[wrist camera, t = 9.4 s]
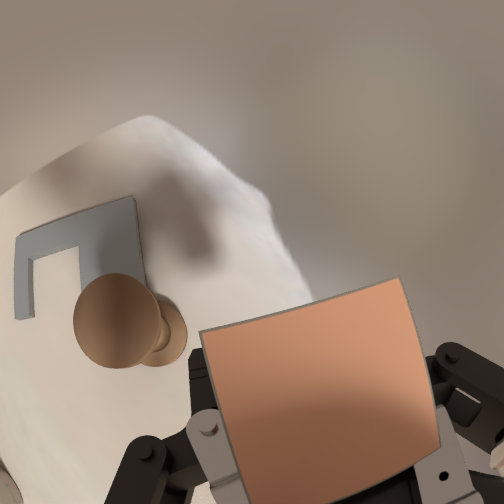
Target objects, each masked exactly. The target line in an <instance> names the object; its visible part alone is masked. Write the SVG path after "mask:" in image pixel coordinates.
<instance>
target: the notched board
mask: <svg viewBox="0 0 504 504" xmlns="http://www.w3.org/2000/svg"><path fill="white" fill-rule="evenodd" d="M78 245H79V263H80V279H81V291H83V290H84V289H85V287H86V286H87V285H88V284H89V283H91V282H92V281H93V280H95V279H96V278H98V277H100V276H103V275H105V274H110V273H121V274H125V275H128V276H131V277H133V278H135V279H136V280H138V281H139V282H140V283H142V284H143V285H144V286H145V287H147V285H146V279H145V273H144V266H143V259H142V252H141V245H140V237H139V228H138V219H137V208H136V200H135V198H134V197H133V196H130V197H126V198H123V199H120V200H116V201H113V202H110V203H107V204H104V205H101V206H98V207H95V208H92V209H89V210H86V211H83V212H80V213H77V214H74V215H72V216H69V217H66V218H63V219H60V220H58V221H55V222H52V223H50V224H47V225H45V226H42V227H39V228H37V229H34V230H32V231H29V232H27V233H24V234H22V235H20V236H17V237H16V243H15V259H14V311H15V319H17V320H24V319H29V318H33V317H35V315H34V298H33V260H36V259H38V258H41V257H44V256H47V255H50V254H53V253H56V252H59V251H62V250H65V249H69V248H72V247H75V246H78Z"/></svg>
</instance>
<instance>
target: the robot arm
mask: <svg viewBox="0 0 504 504" xmlns="http://www.w3.org/2000/svg"><path fill="white" fill-rule="evenodd" d="M425 359H426V364H427V368H428V372H429V376H430V381H431V386H432V390H433V395H434V401H435V406H436V412H437V418H438V424H439V431H440V438H441V446H442V447H441V448H439V449H438V450H436V451H435V452H433V453H432V454H430V455H429V456H427V457H425V458H424V459H422V460H421V461H419V462H417V463H416V464H414V465H413V466H411V467H410V468H408V469H406V470H404V471H402V472H401V473H399V474H397V475H395V476H393V477H391V478H389V479H387V480H385V481H383V482H381V483H379V484H377V485H375V486H372V487H370V488H368V489H366V490H364V491H361V492H359V493H357V494H354V495H352V496H349V497H347V498H344V499H342V500H339V501H336V502H334V503H331V504H504V368H502V367H500V366H499V365H497V364H495V363H493V362H491V361H489V360H488V359H486V358H484V357H482V356H480V355H478V354H477V353H475V352H473V351H471V350H469V349H468V348H466V347H464V346H462V345H460V344H458V343H454V342H447V343H444V344H442V345H440V346H439V347H438V348H437V350H436V353H435V355H433V356H427V357H425ZM188 367H189V380H190V381H189V384H190V398H191V411H192V413H191V418H190V419H189V421H188V423H187V426H186V427H185V428H184V429H183V430H182V431H180V432H178V433H177V434H174V435H172V436H170V437H167V438H165V439H163V440H160V439H159V438H157V437H154V436H150V435H145V436H141V437H138V438H136V439H134V440H133V441H132V442H131V443H130V444H129V445H128V447H127V449H126V452H125V454H124V456H123V459H122V461H121V463H120V466H119V468H118V471H117V473H116V476H115V478H114V480H113V483H112V485H111V488H110V490H109V493H108V495H107V498H106V500H105V503H104V504H190V503H191V500H192V496H193V492H194V488H195V487H196V486H198V485H200V484H202V483H205V482H207V481H209V484H210V491H211V493H212V495H213V497H214V499H215V501H216V503H217V504H249V502H248V499H247V497H246V494H245V491H244V488H243V485H242V482H241V480H240V477H239V474H238V471H237V468H236V465H235V462H234V459H233V456H232V453H231V449H230V446H229V443H228V440H227V437H226V433H225V430H224V427H223V423H222V420H221V417H220V413H219V410H218V406H217V403H216V399H215V395H214V392H213V388H212V384H211V380H210V377H209V373H208V369H207V365H206V361H205V357H204V353H203V349H202V348H198V349H193V350H192V353H191V355H190V357H189V359H188ZM456 387H457V388H459V389H460V390H462V391H464V392H466V393H467V394H469V395H470V396H472V397H474V398H475V399H477V400H478V401H480V402H481V403H477V402H475V401H474V400H472V399H470V398H469V397H467V396H466V395H464V394H462V393H461V392H459V391H457V390H456ZM455 432H456V433H458V434H459V435H461V436H462V437H464V438H465V439H467V440H468V441H470V442H471V443H473V444H474V445H476V446H478V447H479V448H481V449H482V450H484V451H485V452H487V453H488V454H490V455H491V461H490V467H491V468H492V469H493V470H496V469H498V470H499V472H500V474H501V477H500V476H495V475H489V474H485V473H480V472H476V471H472V470H468V468H467V465H466V462H465V459H464V456H463V453H462V450H461V447H460V444H459V442H458V439H457V436H456V433H455ZM0 504H23V500H22V497H21V494H20V492H19V490H18V488H17V486H16V485H15V483H14V481H13V480H12V479H11V477H10V476H9V475H8V474H7V472H6V471H5V470H4V469H3V468H2V467H0Z"/></svg>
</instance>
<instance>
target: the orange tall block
mask: <svg viewBox="0 0 504 504" xmlns="http://www.w3.org/2000/svg"><path fill="white" fill-rule="evenodd" d="M198 332H199V336H200V340H201V344H202V349H203V353H204V357H205V361H206V365H207V369H208V373H209V377H210V380H211V384H212V388H213V392H214V395H215V399H216V403H217V406H218V410H219V413H220V417H221V420H222V423H223V427H224V430H225V433H226V437H227V440H228V443H229V446H230V449H231V453H232V456H233V459H234V462H235V465H236V468H237V471H238V474H239V477H240V480H241V482H242V485H243V488H244V491H245V494H246V497H247V499H248V502H249V504H331V503H334V502H336V501H339V500H342V499H344V498H347V497H349V496H352V495H354V494H357V493H359V492H361V491H364V490H366V489H368V488H370V487H372V486H375V485H377V484H379V483H381V482H383V481H385V480H387V479H389V478H391V477H393V476H395V475H397V474H399V473H401V472H402V471H404V470H406V469H408V468H410V467H411V466H413V465H414V464H416V463H417V462H419V461H421V460H422V459H424V458H425V457H427V456H429V455H430V454H432V453H433V452H435V451H436V450H438V449H439V448H441V447H442V446H441V438H440V431H439V424H438V418H437V412H436V406H435V401H434V395H433V390H432V386H431V381H430V376H429V372H428V368H427V364H426V359H425V356H424V352H423V348H422V344H421V340H420V337H419V334H418V330H417V326H416V323H415V320H414V317H413V313H412V310H411V307H410V304H409V301H408V298H407V295H406V292H405V289H404V286H403V283H402V280H401V277H400V275H397V276H395V277H392V278H389V279H386V280H383V281H380V282H377V283H374V284H371V285H368V286H365V287H362V288H358V289H356V290H352V291H349V292H346V293H342V294H339V295H336V296H332V297H329V298H326V299H323V300H319V301H316V302H312V303H309V304H305V305H302V306H298V307H294V308H291V309H287V310H283V311H280V312H276V313H272V314H268V315H264V316H261V317H257V318H253V319H249V320H245V321H241V322H236V323H232V324H228V325H224V326H219V327H215V328H211V329H206V330H202V331H198Z"/></svg>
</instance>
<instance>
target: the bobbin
mask: <svg viewBox="0 0 504 504" xmlns="http://www.w3.org/2000/svg"><path fill="white" fill-rule="evenodd" d="M73 325H74V332H75V336H76V339H77V342H78V344H79V346H80V347H81V349H82V351H83V352H84V353H85V354H86V356H88V357H89V358H90V359H91V360H92V361H93V362H95V363H97V364H98V365H101V366H103V367H107V368H115V369H118V368H129V367H133V366H135V365H138V364H140V363H141V364H143V365H146V366H151V367H158V366H165V365H168V364H170V363H172V362H174V361H175V360H176V359H178V358H179V357H180V355H181V354H182V353H183V351H184V349H185V346H186V343H187V327H186V324H185V322H184V319H183V318H182V316H181V315H180V314H179V312H178V311H176V310H175V309H174V308H173V307H171V306H170V305H168V304H166V303H164V302H161V301H156V299H155V297H154V296H153V294H152V293H151V292H150V290H149V289H148V288H147V287H145V286H144V285H143V284H142V283H140V282H139V281H138V280H136V279H135V278H133V277H131V276H128V275H125V274H121V273H110V274H105V275H103V276H100V277H98V278H96V279H95V280H93V281H92V282H91V283H89V284H88V285H87V286H86V287H85V289H84V290H83V291H82V293H81V294H80V296H79V298H78V300H77V303H76V306H75V310H74V316H73Z"/></svg>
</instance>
